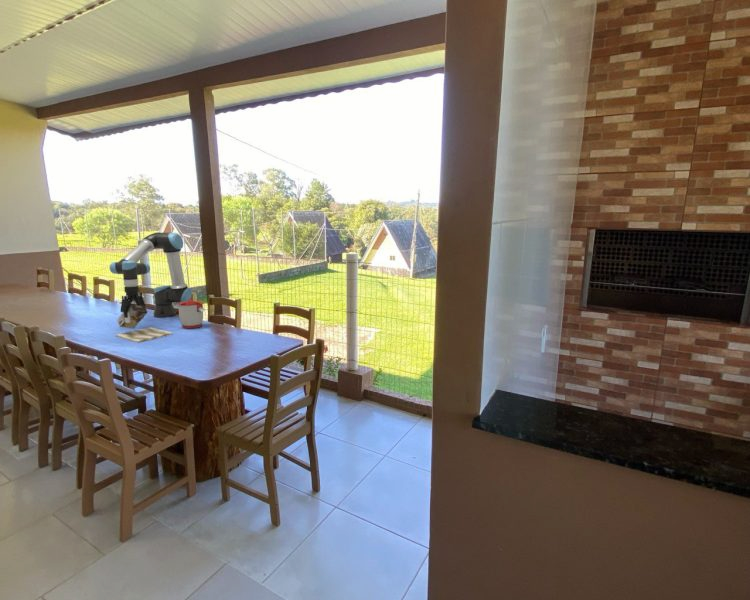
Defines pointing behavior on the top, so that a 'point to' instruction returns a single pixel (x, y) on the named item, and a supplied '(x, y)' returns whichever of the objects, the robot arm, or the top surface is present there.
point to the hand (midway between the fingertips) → (134, 320)
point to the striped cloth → (144, 334)
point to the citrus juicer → (191, 313)
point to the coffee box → (133, 316)
